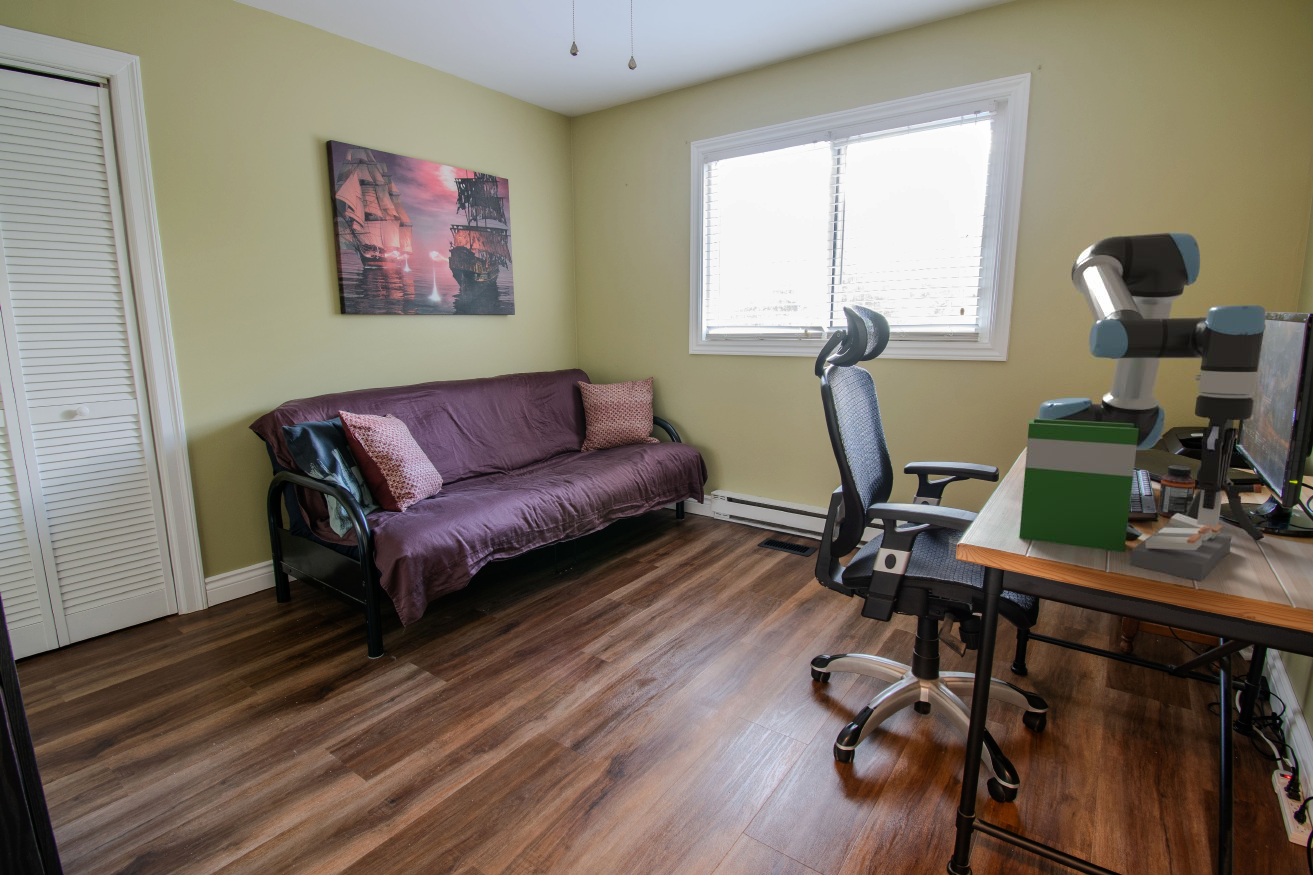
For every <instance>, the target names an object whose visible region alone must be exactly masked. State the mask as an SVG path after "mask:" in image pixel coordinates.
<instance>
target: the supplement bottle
mask: <svg viewBox="0 0 1313 875" xmlns="http://www.w3.org/2000/svg"><path fill="white" fill-rule="evenodd" d="M1167 467H1168V468H1167V473H1166V474H1164V475H1163V476H1161V479H1160V486H1159V496H1158V505H1157V513H1158V514H1159V515H1160V516H1162V517H1166V518H1170V519H1171V517H1172V516H1174V515H1175V514H1177V513H1179V514H1182V515H1185V516H1186V513H1187V511H1188V508H1189V506H1190V504H1191V502H1192V500H1193V498H1194V496H1195V489H1196V480H1195V478H1194V477H1192V476H1191V474H1192V468H1191V467H1189V466H1184V465H1176V464H1174V465H1169V466H1167Z"/></svg>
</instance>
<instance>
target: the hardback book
mask: <svg viewBox="0 0 1313 875" xmlns="http://www.w3.org/2000/svg"><path fill="white" fill-rule="evenodd" d="M1028 420H1029V421H1028V422H1029V423H1028V430H1027V431H1028V432H1027V440H1026V442H1027V444H1026V453H1025V455H1026V456H1025V465H1024V477H1023V478H1024V479H1023V487H1022V503H1021V512H1020V522H1019V523H1020V524H1019V525H1020V526H1019V537H1018V538H1019V539H1020V538H1023V539H1022V540H1028V539H1029V540H1028V541H1030V540H1031V541H1035V540H1036V541H1037V542H1043V543H1044V542H1045V543H1050V542H1051V543H1050V544H1057V545H1058V544H1059V545H1066V546H1074V547H1080V548H1081V547H1082V548H1090V549H1091V548H1092V549H1097V550H1104V551H1111V552H1119V553H1125V552H1126V551H1125V549H1126V542H1127V541H1126V540H1127V532H1128V523H1129V515H1130V507H1131V506H1130V505H1131V497H1132V490H1133V482H1134V471H1135V465H1136V463H1135V462H1136V453H1137V450H1136V447H1137V439H1138V430H1139V429H1136V428H1134V424H1128V423H1109V422H1089V421H1069V420H1050V419H1037V418H1030V417H1029V419H1028Z"/></svg>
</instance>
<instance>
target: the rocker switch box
mask: <svg viewBox="0 0 1313 875" xmlns="http://www.w3.org/2000/svg"><path fill="white" fill-rule="evenodd" d="M1163 528H1182V527H1179V526H1176V525H1173V524H1165V525H1164V526H1162V527H1161V528H1160V529H1158V530H1157V531H1155V532H1154V533H1152V534H1151V535H1150V536H1149V537H1147V538H1146V539H1144V540H1143V541H1141V543H1139V544H1138V545H1136V546H1134V547H1133V548H1132V550H1131V557H1130V566H1133V567H1138V568H1142V569H1146V570H1151V571H1155V572H1160V573H1163V574H1168V575H1173V576H1177V577H1181V578H1186V579H1191V580H1195V581H1198V582H1202V581H1203V580H1204V579H1205V577H1207V575H1208V574H1209V573H1210V572H1212V570H1213V569H1214V568H1215V567H1217V565H1218V564H1219V563H1220V562H1221V561H1222V560H1223V559H1224V558H1225V557H1226V555H1228V553H1230V550H1231V544H1232V538H1233V536H1232V535H1229V534H1228V535H1226V534H1222V533H1219V534H1218V535H1217V536H1216V537H1215V538H1214V539H1213V538H1209V539H1207V540H1201V541H1202V545H1201V546H1200V547H1199V548H1197V549H1196V550H1180V549H1157V548H1146V543H1145V541H1147V540H1148V539H1149V538H1151V537H1152V536H1158V533H1157V532H1159V531H1160V530H1162V529H1163Z"/></svg>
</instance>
